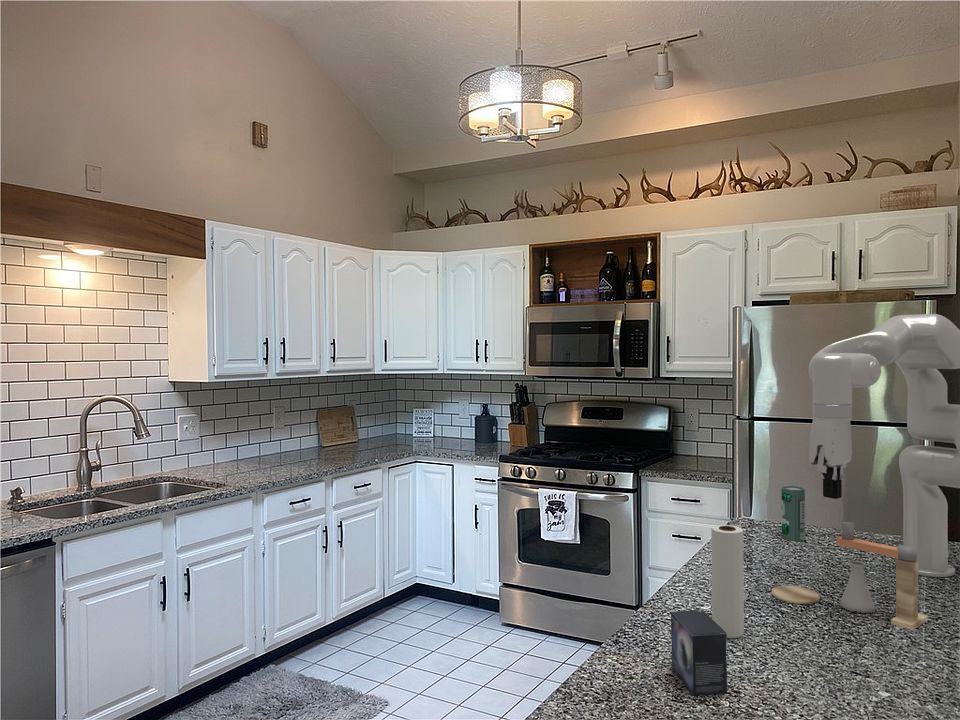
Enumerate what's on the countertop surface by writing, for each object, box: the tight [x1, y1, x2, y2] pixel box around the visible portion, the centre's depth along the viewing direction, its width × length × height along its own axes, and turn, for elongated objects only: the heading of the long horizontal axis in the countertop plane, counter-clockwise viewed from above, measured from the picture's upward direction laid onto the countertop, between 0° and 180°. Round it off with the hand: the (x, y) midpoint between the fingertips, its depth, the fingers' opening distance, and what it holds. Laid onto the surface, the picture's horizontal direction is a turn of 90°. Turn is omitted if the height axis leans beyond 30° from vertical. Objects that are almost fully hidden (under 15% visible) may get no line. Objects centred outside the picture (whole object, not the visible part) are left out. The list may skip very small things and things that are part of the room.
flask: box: [839, 560, 876, 614], centre depth 154 cm, size 7×7×10 cm
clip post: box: [890, 558, 929, 631], centre depth 145 cm, size 8×4×13 cm, turn 127°
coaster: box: [771, 585, 820, 605], centre depth 161 cm, size 10×10×1 cm
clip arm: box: [835, 521, 917, 561], centre depth 150 cm, size 4×16×5 cm, turn 37°
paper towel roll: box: [711, 522, 745, 639], centre depth 141 cm, size 7×6×21 cm
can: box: [780, 485, 806, 542], centre depth 208 cm, size 6×6×15 cm
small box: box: [670, 609, 729, 696], centre depth 122 cm, size 11×6×10 cm, turn 5°
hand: (832, 497), depth 151 cm, fingers closed
